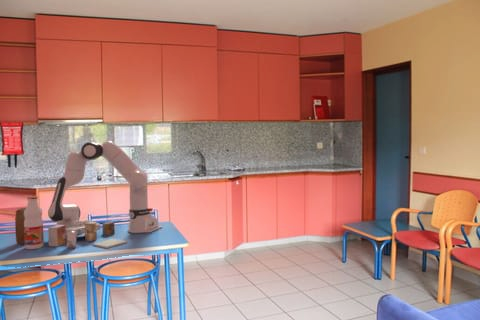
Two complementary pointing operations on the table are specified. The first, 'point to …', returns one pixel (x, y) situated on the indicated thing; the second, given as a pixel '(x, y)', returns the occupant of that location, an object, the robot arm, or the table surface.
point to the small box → (57, 235)
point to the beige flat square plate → (110, 243)
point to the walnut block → (108, 228)
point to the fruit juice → (33, 224)
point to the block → (20, 226)
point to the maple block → (90, 231)
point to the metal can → (71, 239)
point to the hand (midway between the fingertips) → (91, 230)
